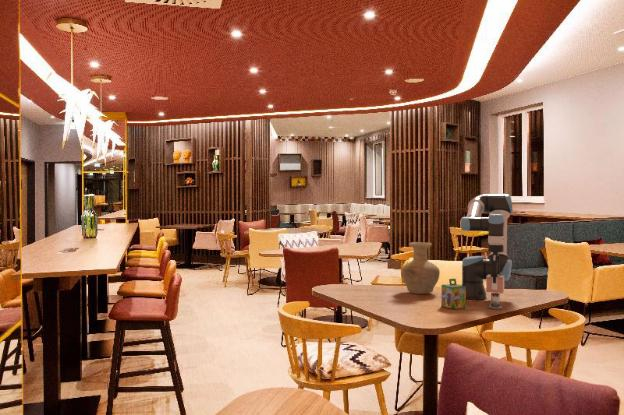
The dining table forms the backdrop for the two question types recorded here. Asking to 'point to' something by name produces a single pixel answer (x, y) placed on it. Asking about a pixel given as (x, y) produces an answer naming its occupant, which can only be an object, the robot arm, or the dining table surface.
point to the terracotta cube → (499, 284)
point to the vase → (420, 271)
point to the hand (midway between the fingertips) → (495, 288)
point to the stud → (495, 301)
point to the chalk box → (453, 295)
